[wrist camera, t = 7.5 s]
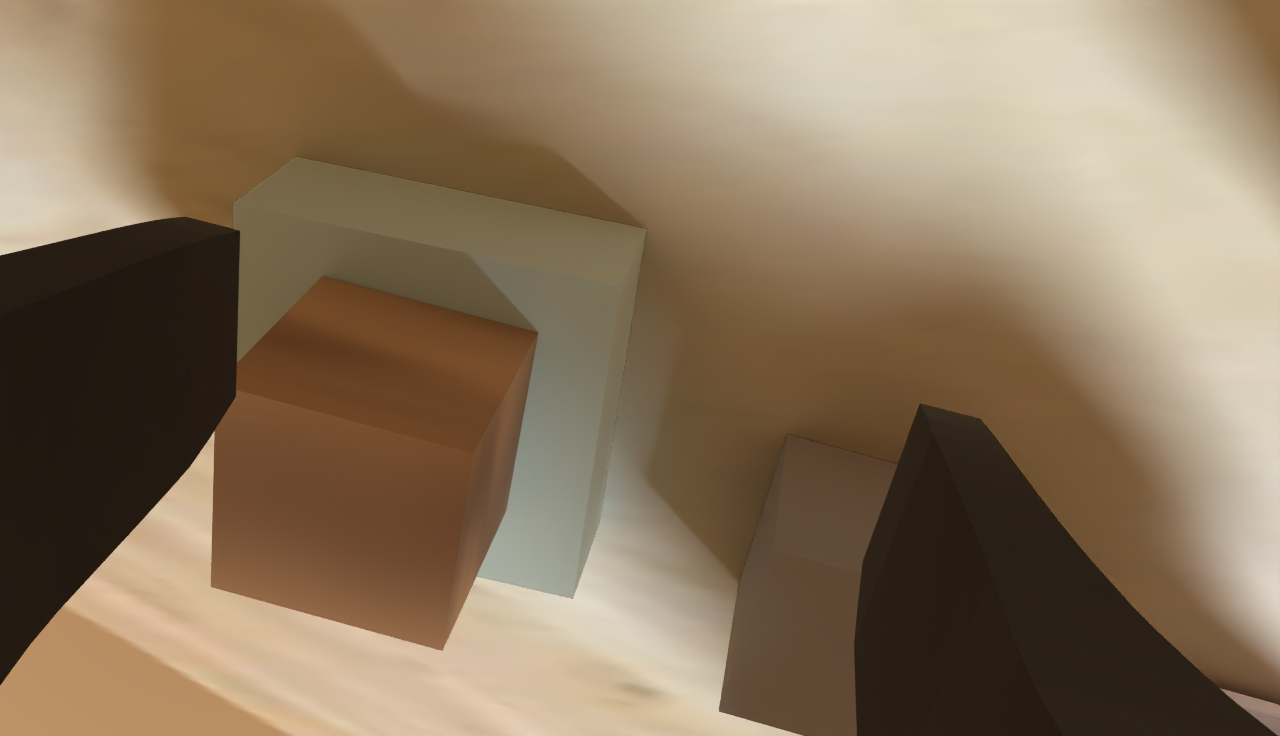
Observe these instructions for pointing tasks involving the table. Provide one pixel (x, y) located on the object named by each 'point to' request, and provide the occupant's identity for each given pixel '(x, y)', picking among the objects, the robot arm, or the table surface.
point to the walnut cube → (368, 459)
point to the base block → (480, 286)
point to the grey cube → (804, 592)
